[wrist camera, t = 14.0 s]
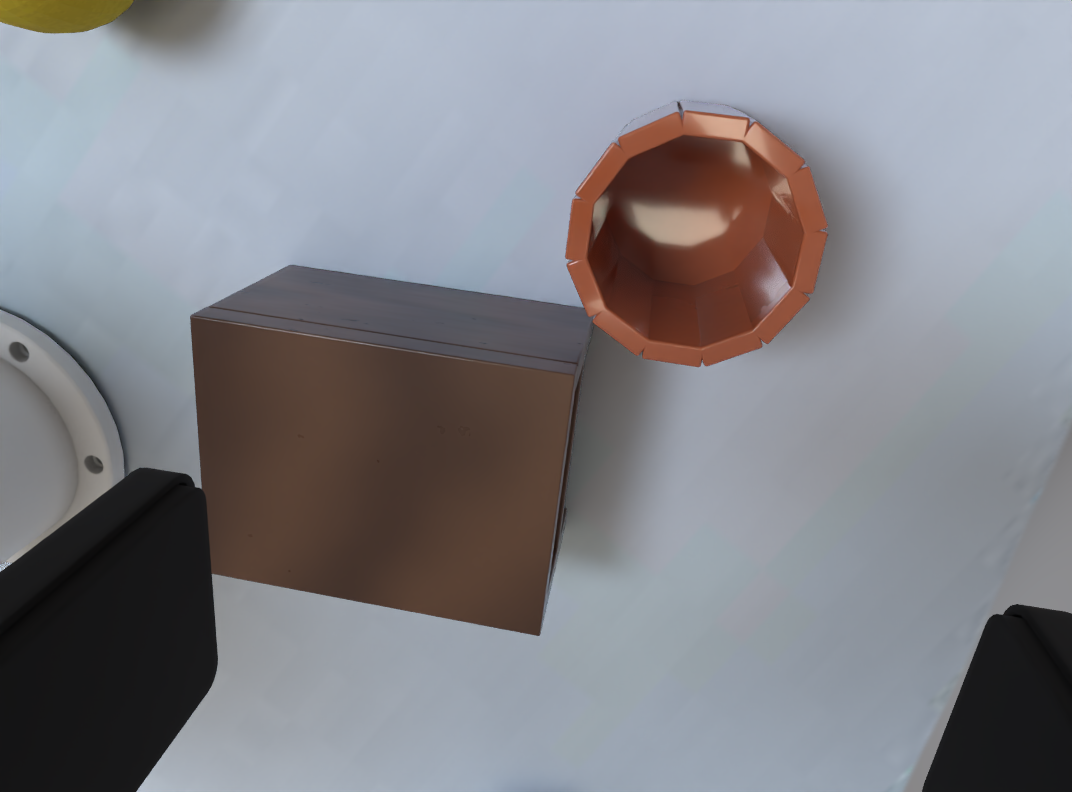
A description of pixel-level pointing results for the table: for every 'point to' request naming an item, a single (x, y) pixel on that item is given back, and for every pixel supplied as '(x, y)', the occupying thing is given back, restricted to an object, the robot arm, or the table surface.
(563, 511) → the shelf
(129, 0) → the lemon
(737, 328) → the cup
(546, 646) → the table surface
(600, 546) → the table surface
